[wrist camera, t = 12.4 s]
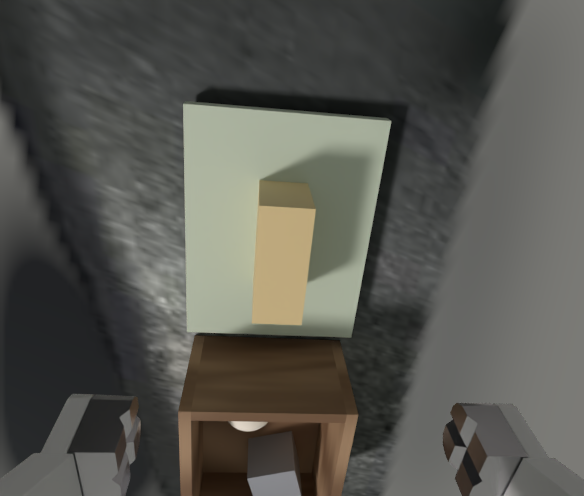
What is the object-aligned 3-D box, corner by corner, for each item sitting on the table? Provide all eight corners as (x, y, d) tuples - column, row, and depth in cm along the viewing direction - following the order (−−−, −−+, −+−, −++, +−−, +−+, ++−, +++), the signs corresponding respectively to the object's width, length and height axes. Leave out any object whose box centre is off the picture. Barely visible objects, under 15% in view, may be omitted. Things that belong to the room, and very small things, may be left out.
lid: (188, 98, 21) (168, 117, 17) (383, 115, 22) (414, 137, 18) (190, 315, 27) (176, 374, 22) (346, 321, 28) (363, 379, 23)
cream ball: (224, 363, 27) (220, 402, 24) (276, 364, 27) (278, 403, 24) (223, 401, 28) (219, 443, 26) (273, 402, 29) (274, 444, 26)
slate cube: (248, 438, 30) (247, 478, 27) (291, 431, 30) (294, 470, 27) (257, 467, 31) (257, 508, 29) (298, 460, 31) (302, 500, 29)
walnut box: (194, 335, 27) (178, 411, 22) (339, 340, 28) (358, 414, 22) (195, 468, 32) (182, 555, 27) (317, 468, 33) (328, 554, 28)
